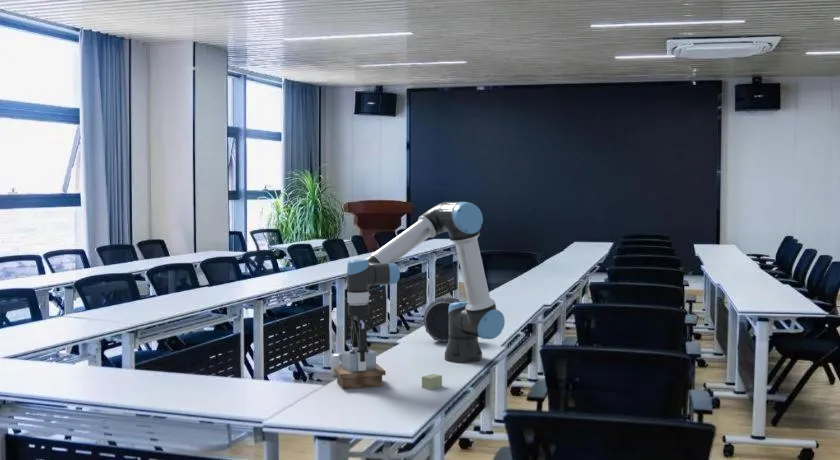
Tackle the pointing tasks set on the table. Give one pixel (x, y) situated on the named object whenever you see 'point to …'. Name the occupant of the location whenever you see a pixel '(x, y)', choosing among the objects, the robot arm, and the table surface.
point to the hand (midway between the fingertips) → (359, 367)
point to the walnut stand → (359, 378)
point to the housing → (352, 360)
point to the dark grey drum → (438, 318)
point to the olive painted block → (432, 381)
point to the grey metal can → (335, 362)
